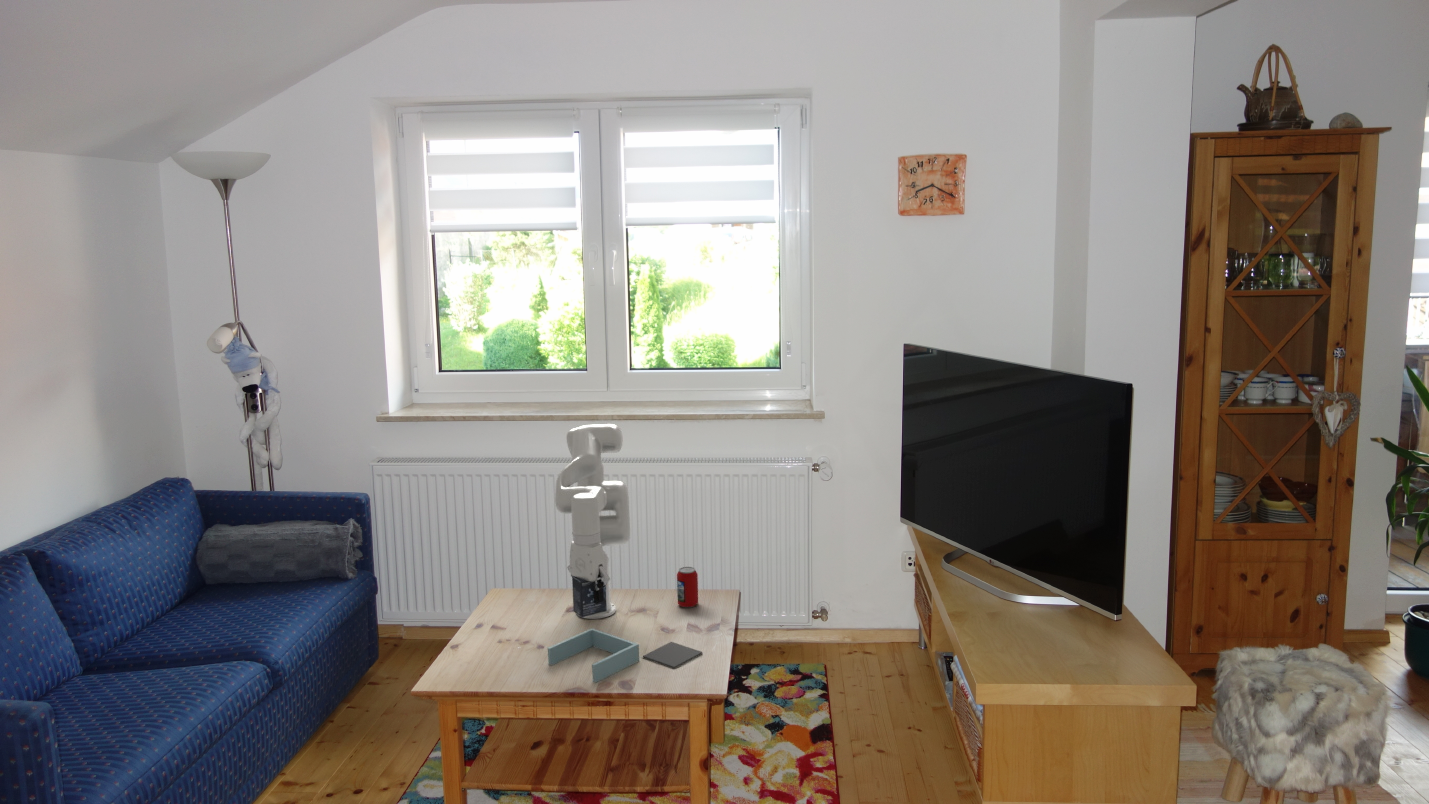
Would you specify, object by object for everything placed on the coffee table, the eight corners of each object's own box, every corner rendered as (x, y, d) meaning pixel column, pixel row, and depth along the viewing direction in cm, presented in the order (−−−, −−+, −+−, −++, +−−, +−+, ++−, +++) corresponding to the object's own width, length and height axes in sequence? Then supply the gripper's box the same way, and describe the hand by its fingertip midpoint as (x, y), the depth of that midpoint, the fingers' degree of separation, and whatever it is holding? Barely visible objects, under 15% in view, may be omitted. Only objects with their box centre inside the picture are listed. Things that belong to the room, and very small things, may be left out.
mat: (643, 657, 266) (642, 655, 266) (671, 643, 275) (671, 641, 275) (674, 668, 258) (674, 666, 258) (702, 653, 267) (702, 651, 267)
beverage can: (677, 601, 308) (676, 566, 306) (697, 600, 308) (696, 565, 306) (678, 609, 301) (677, 573, 299) (699, 607, 302) (698, 572, 300)
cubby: (548, 664, 263) (547, 647, 262) (592, 643, 276) (592, 627, 275) (595, 682, 251) (594, 665, 250) (639, 660, 264) (638, 643, 263)
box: (582, 618, 257) (580, 581, 255) (573, 611, 261) (571, 575, 259) (607, 611, 261) (605, 575, 259) (598, 605, 266) (596, 569, 264)
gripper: (555, 535, 260) (558, 596, 263) (598, 547, 249) (601, 610, 252) (575, 528, 266) (578, 588, 269) (618, 540, 255) (621, 602, 258)
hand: (589, 598), depth 260 cm, fingers closed on box, 6 cm apart
